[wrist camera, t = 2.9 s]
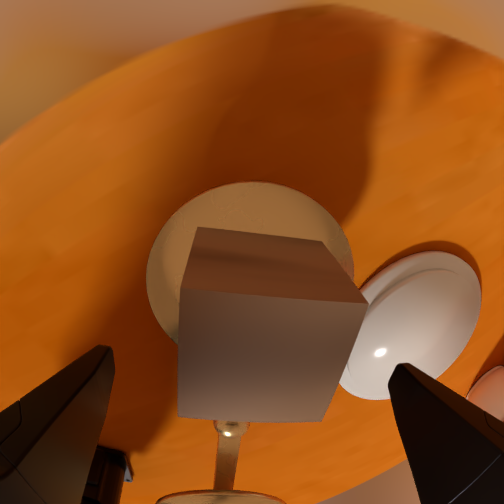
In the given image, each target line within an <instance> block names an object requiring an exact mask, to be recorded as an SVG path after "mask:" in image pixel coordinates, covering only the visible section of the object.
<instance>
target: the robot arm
mask: <svg viewBox="0 0 504 504" xmlns="http://www.w3.org/2000/svg"><path fill="white" fill-rule="evenodd" d="M114 375H115V364H114V357H113V350H112V348H111V347H110V346H106V345H97V346H95V347H94V348H92V349H91V350H89V351H88V352H87V353H85V354H84V355H82V356H81V357H79V358H78V359H76V360H75V361H74V362H72V363H71V364H69V365H68V366H66V367H65V368H63V369H62V370H61V371H59V372H58V373H56V374H55V375H53V376H52V377H51V378H49V379H48V380H46V381H45V382H43V383H42V384H40V385H39V386H38V387H36V388H35V389H33V390H32V391H30V392H29V393H28V394H26V395H25V396H23V397H22V398H21V399H20V401H19V400H18V401H16V402H15V403H13V404H12V405H10V406H9V407H7V408H6V409H4V410H3V411H1V412H0V504H119V503H120V498H121V492H122V487H123V482H124V481H125V482H132V480H133V477H132V474H131V471H130V468H129V465H128V461H127V458H126V455H125V454H124V453H123V452H120V451H115V450H110V449H106V448H101V447H97V443H98V440H99V436H100V433H101V430H102V427H103V424H104V421H105V417H106V413H107V408H108V403H109V398H110V393H111V388H112V384H113V379H114ZM388 390H389V394H390V398H391V403H392V407H393V411H394V416H395V420H396V424H397V427H398V430H399V433H400V436H401V439H402V443H403V446H404V449H405V452H406V455H407V458H408V461H409V465H410V468H411V471H412V474H413V478H414V481H415V485H416V488H417V491H418V495H419V499H420V502H421V504H504V422H502V421H501V420H499V419H497V418H496V417H494V416H492V415H491V414H489V413H488V412H486V411H483V409H481V408H480V407H478V406H476V405H475V404H473V403H472V402H470V401H468V400H467V399H465V398H464V397H462V396H461V395H459V394H457V393H456V392H454V391H453V390H451V389H449V388H448V387H446V386H445V385H443V384H442V383H440V382H438V381H437V380H435V379H434V378H432V377H431V376H429V375H427V374H426V373H424V372H423V371H421V370H420V369H418V368H416V367H415V366H413V365H412V364H410V363H399V364H397V365H396V367H395V369H394V371H393V373H392V375H391V377H390V379H389V381H388Z"/></svg>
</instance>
